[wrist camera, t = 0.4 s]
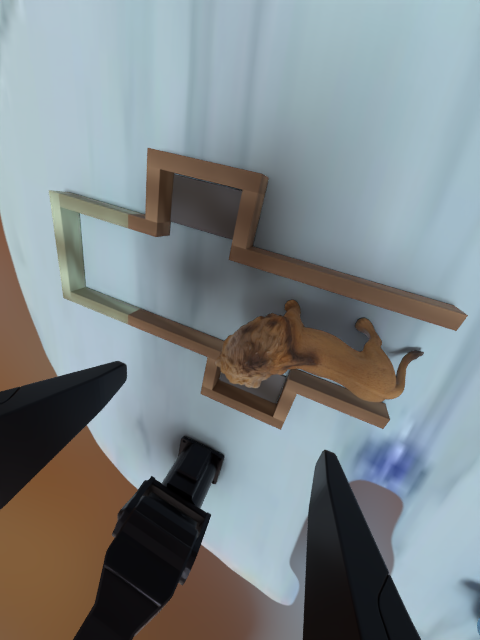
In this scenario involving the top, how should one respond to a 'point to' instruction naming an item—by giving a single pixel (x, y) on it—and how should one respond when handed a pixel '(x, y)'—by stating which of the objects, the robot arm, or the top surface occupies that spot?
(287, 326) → the lion figurine
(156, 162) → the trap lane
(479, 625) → the decorative pot
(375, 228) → the top surface
